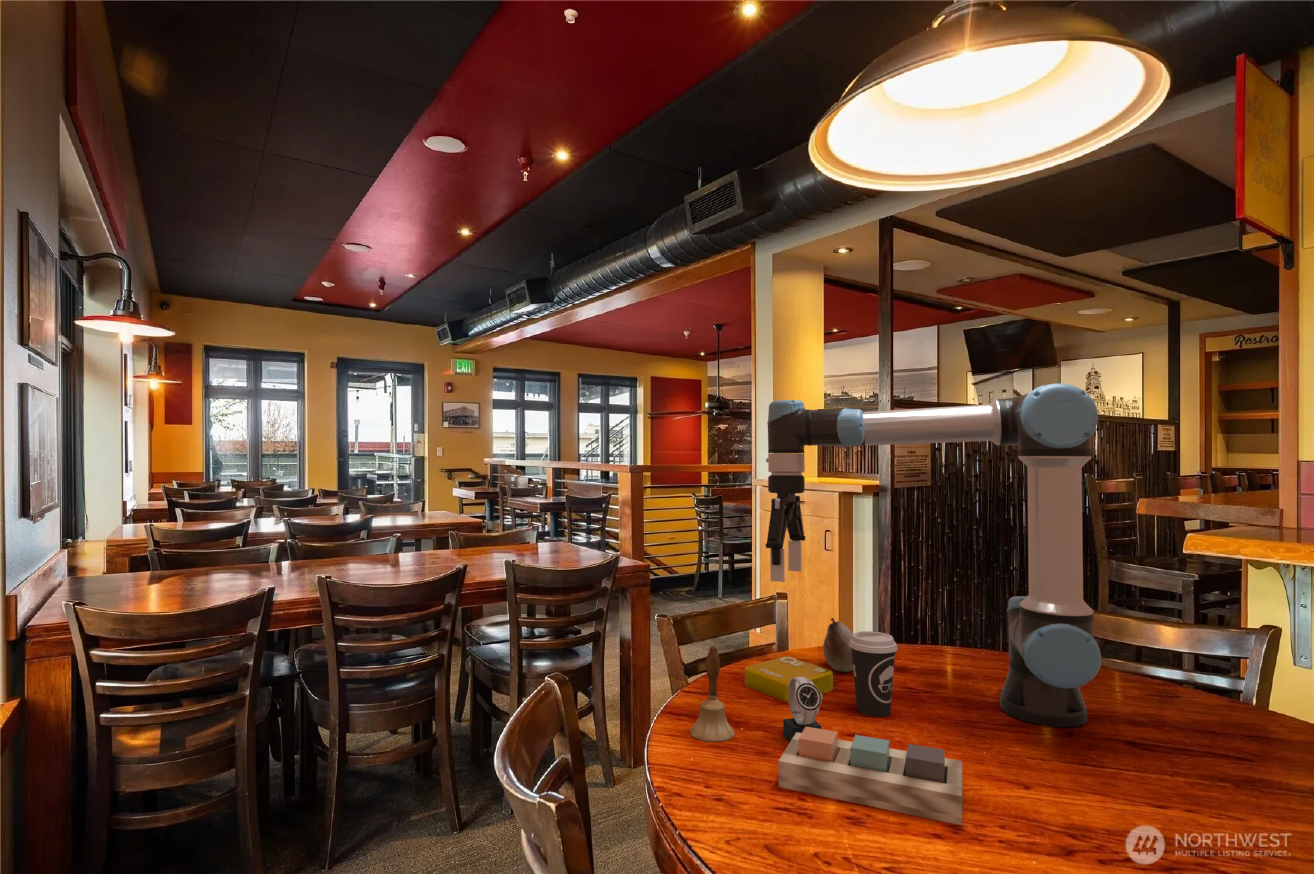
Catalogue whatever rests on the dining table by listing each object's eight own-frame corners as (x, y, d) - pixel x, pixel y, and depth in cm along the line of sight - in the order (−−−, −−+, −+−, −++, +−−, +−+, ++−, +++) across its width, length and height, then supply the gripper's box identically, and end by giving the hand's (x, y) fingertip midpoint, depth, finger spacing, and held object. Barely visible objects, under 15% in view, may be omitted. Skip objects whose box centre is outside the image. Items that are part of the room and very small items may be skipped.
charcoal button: (944, 776, 102) (944, 749, 102) (943, 791, 97) (943, 763, 97) (908, 769, 104) (908, 743, 104) (905, 784, 99) (905, 757, 99)
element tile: (740, 686, 151) (740, 664, 151) (786, 673, 160) (786, 653, 160) (791, 705, 139) (791, 682, 139) (837, 690, 148) (836, 668, 148)
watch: (797, 750, 116) (796, 687, 117) (779, 732, 124) (779, 672, 125) (826, 747, 118) (826, 684, 118) (807, 729, 125) (807, 670, 126)
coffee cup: (891, 702, 139) (891, 630, 140) (904, 720, 130) (903, 643, 130) (845, 701, 140) (844, 629, 141) (854, 718, 131) (853, 641, 131)
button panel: (962, 786, 104) (962, 760, 104) (962, 825, 93) (961, 796, 93) (796, 755, 114) (796, 732, 115) (778, 786, 104) (778, 760, 104)
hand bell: (735, 725, 128) (734, 641, 128) (733, 743, 119) (733, 654, 120) (692, 722, 129) (692, 639, 129) (687, 740, 121) (687, 652, 121)
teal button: (889, 766, 105) (889, 740, 105) (886, 780, 100) (885, 753, 100) (855, 759, 107) (855, 734, 107) (850, 773, 102) (850, 747, 102)
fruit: (827, 660, 168) (826, 613, 169) (865, 665, 165) (865, 616, 165) (820, 672, 159) (819, 622, 159) (861, 677, 155) (860, 626, 156)
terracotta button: (837, 756, 108) (837, 731, 108) (832, 770, 104) (831, 744, 104) (806, 750, 110) (805, 726, 111) (798, 763, 106) (798, 738, 106)
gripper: (784, 472, 152) (785, 565, 152) (750, 475, 130) (750, 584, 129) (817, 473, 149) (818, 568, 148) (788, 475, 127) (788, 587, 126)
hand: (786, 576), depth 139 cm, fingers open, 13 cm apart
